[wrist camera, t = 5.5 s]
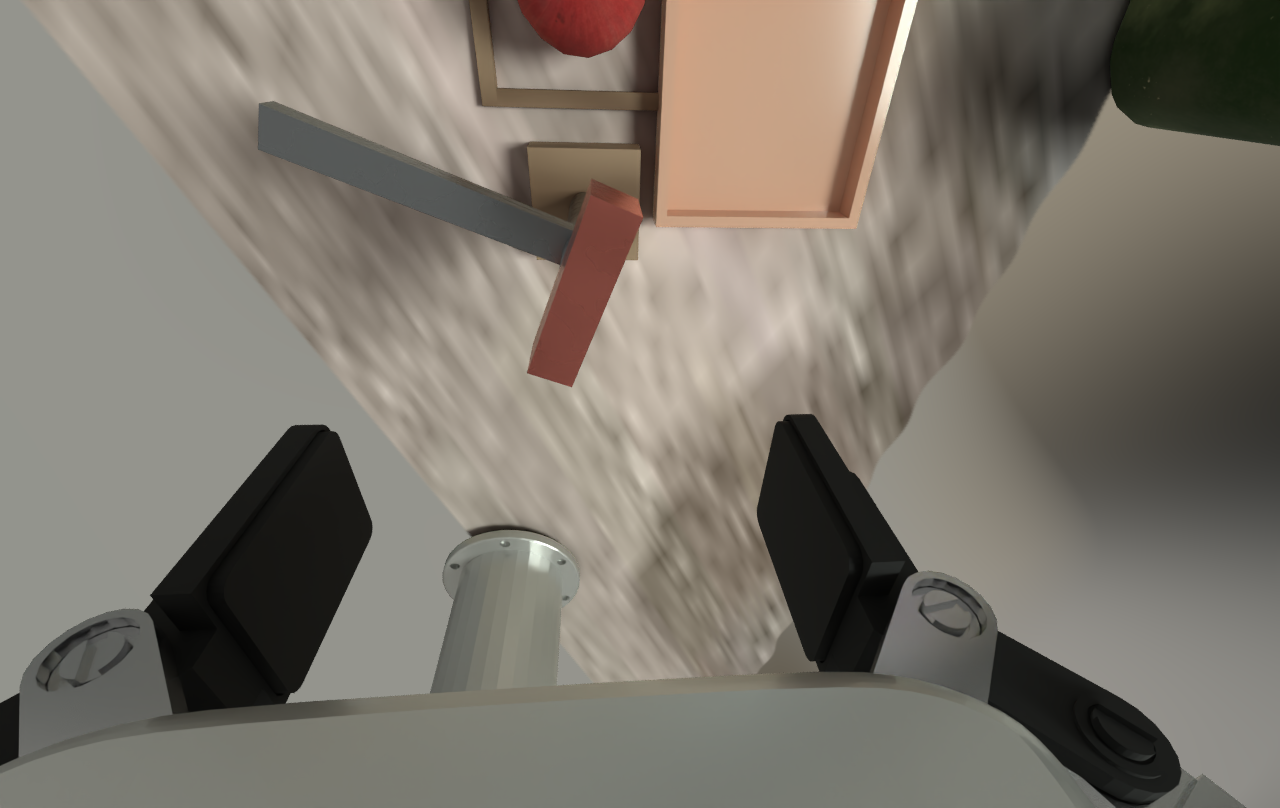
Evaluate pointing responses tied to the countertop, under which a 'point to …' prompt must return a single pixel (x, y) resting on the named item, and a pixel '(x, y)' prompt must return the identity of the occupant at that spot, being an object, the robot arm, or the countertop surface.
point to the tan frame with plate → (564, 164)
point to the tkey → (484, 224)
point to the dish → (772, 109)
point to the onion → (582, 23)
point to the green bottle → (1200, 67)
